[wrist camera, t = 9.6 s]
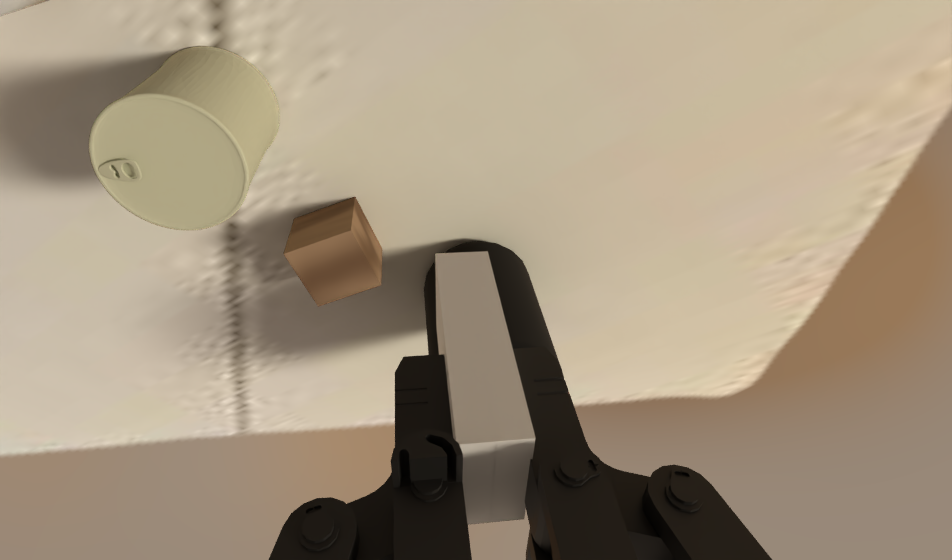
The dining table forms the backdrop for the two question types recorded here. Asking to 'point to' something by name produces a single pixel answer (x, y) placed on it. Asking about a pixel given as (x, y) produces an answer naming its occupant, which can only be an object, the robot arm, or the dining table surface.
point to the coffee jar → (514, 297)
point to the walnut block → (335, 252)
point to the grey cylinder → (16, 5)
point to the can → (186, 139)
